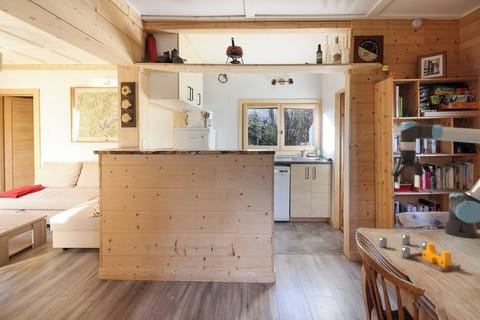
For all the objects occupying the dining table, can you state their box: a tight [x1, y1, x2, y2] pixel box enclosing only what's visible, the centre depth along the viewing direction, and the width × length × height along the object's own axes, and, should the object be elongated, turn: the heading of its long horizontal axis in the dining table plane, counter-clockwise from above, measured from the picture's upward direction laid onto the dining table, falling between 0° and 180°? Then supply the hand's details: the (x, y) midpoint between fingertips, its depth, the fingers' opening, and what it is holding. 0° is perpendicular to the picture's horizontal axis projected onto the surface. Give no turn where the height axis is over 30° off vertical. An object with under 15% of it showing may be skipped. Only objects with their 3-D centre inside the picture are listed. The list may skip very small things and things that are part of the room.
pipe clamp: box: [421, 242, 452, 267], centre depth 131 cm, size 12×4×6 cm, turn 2°
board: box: [410, 252, 461, 273], centre depth 132 cm, size 10×16×2 cm, turn 15°
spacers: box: [379, 234, 428, 260], centre depth 147 cm, size 17×18×4 cm
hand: (407, 187), depth 170 cm, fingers open, 13 cm apart
